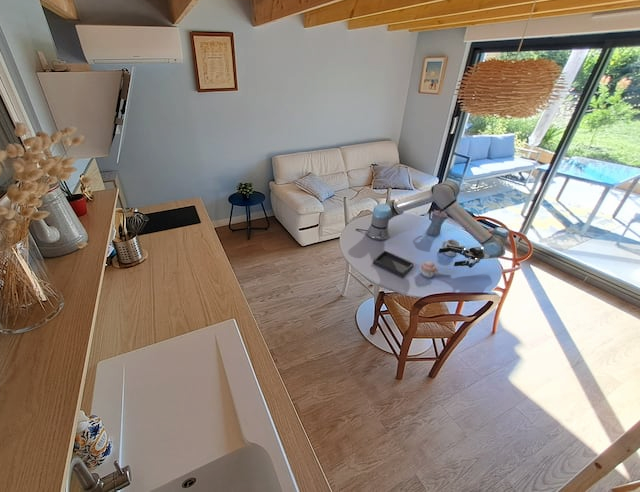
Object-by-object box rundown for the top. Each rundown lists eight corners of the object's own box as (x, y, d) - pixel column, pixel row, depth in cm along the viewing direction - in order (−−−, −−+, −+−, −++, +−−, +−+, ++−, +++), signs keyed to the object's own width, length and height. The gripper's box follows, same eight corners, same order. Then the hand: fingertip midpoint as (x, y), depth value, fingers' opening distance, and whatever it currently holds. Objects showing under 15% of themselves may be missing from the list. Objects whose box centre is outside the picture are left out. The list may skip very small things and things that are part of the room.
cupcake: (430, 269, 177) (434, 256, 172) (438, 279, 169) (443, 266, 164) (415, 269, 177) (419, 256, 172) (423, 279, 169) (427, 266, 164)
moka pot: (437, 239, 207) (444, 215, 197) (419, 229, 219) (425, 206, 209) (445, 236, 211) (453, 212, 201) (427, 226, 222) (434, 203, 213)
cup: (451, 258, 187) (455, 246, 183) (437, 250, 194) (441, 239, 190) (457, 254, 191) (461, 243, 186) (443, 247, 198) (447, 236, 193)
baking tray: (373, 263, 183) (373, 260, 182) (384, 254, 192) (384, 250, 190) (402, 277, 171) (403, 274, 169) (412, 266, 180) (413, 263, 178)
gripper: (493, 271, 163) (459, 275, 160) (461, 246, 184) (432, 250, 181) (497, 260, 159) (464, 265, 156) (465, 237, 180) (435, 240, 177)
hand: (446, 257), depth 168 cm, fingers open, 13 cm apart
